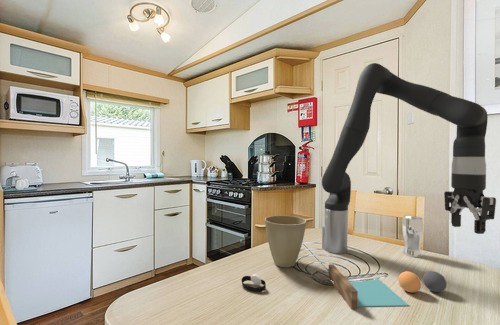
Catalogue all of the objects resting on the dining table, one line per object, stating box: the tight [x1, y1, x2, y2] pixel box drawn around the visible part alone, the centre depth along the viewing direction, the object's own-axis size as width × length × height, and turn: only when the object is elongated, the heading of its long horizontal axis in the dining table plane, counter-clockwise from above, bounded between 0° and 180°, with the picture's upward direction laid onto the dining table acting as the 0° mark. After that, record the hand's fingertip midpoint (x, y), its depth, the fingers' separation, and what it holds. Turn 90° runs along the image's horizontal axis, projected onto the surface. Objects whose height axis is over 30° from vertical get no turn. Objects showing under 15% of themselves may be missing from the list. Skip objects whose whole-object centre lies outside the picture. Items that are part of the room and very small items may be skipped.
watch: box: [241, 274, 267, 293], centre depth 72 cm, size 8×5×4 cm, turn 59°
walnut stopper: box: [327, 264, 358, 310], centre depth 70 cm, size 16×2×4 cm, turn 3°
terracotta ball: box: [397, 270, 422, 294], centre depth 71 cm, size 6×6×6 cm
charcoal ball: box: [422, 270, 447, 293], centre depth 72 cm, size 6×6×6 cm
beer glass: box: [401, 215, 424, 258], centre depth 100 cm, size 7×7×15 cm
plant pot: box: [264, 214, 307, 268], centre depth 90 cm, size 15×15×16 cm
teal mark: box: [350, 278, 410, 308], centre depth 71 cm, size 14×14×1 cm
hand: (467, 229), depth 72 cm, fingers open, 6 cm apart
